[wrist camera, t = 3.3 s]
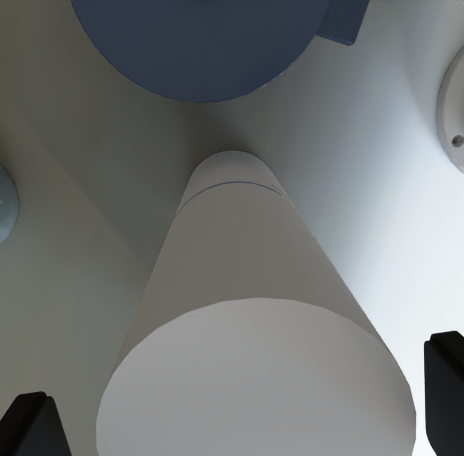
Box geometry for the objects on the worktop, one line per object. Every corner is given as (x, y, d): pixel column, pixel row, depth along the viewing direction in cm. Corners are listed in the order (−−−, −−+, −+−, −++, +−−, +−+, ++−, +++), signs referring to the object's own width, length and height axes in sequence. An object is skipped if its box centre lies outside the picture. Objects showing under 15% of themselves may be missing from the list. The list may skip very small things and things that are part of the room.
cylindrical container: (204, 136, 32) (154, 248, 8) (292, 170, 33) (476, 361, 9) (173, 222, 34) (59, 517, 10) (257, 252, 35) (334, 588, 11)
